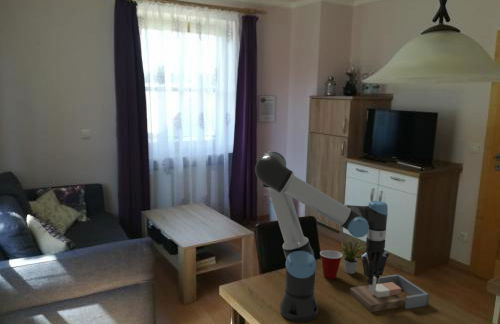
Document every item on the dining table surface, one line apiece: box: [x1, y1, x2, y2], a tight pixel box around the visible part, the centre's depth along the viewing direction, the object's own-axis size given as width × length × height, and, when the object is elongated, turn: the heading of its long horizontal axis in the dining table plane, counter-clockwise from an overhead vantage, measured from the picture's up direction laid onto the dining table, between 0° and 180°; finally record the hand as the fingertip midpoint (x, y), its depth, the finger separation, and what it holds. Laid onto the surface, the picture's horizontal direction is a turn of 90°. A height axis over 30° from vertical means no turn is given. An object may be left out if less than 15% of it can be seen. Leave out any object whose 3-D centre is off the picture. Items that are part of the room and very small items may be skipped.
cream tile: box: [369, 283, 390, 298], centre depth 165 cm, size 6×6×2 cm
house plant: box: [340, 238, 367, 275], centre depth 191 cm, size 14×14×16 cm
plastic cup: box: [319, 250, 344, 280], centre depth 185 cm, size 11×11×12 cm
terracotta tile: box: [382, 282, 402, 296], centre depth 167 cm, size 6×6×2 cm
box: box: [377, 273, 430, 310], centre depth 169 cm, size 11×19×5 cm, turn 18°
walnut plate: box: [349, 283, 405, 313], centre depth 165 cm, size 16×15×3 cm
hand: (372, 291), depth 164 cm, fingers closed
